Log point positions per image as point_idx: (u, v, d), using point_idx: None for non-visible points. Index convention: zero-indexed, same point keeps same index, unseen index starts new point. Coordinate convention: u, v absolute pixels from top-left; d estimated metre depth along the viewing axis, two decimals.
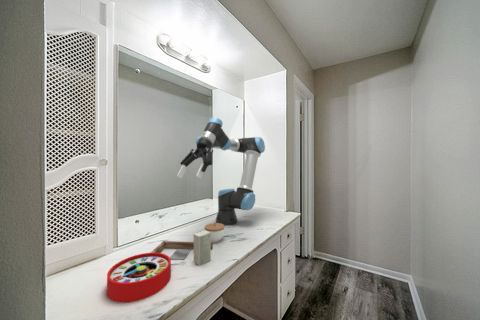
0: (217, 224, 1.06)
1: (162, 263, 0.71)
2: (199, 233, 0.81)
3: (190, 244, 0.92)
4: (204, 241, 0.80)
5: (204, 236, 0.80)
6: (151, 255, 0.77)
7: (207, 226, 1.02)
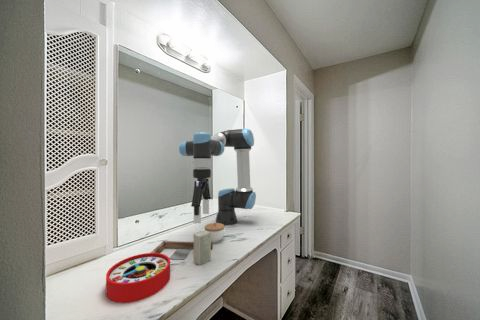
0: (217, 223, 1.06)
1: (161, 263, 0.71)
2: (199, 233, 0.81)
3: (190, 244, 0.92)
4: (204, 241, 0.80)
5: (204, 236, 0.80)
6: (150, 255, 0.77)
7: (207, 226, 1.02)
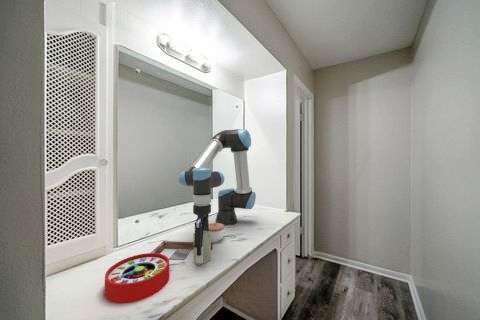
0: (217, 223, 1.06)
1: (160, 264, 0.71)
2: None
3: (190, 244, 0.92)
4: (204, 241, 0.80)
5: (204, 236, 0.80)
6: (150, 255, 0.76)
7: None
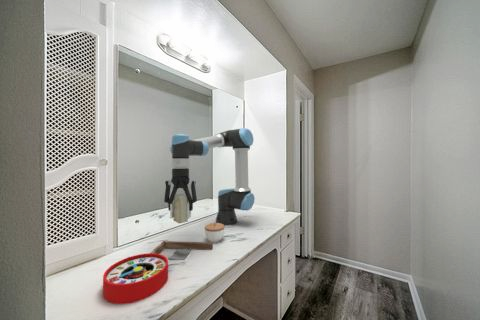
0: (217, 224, 1.06)
1: (159, 264, 0.70)
2: (180, 195, 0.86)
3: (190, 244, 0.92)
4: None
5: None
6: (149, 256, 0.76)
7: (207, 226, 1.02)
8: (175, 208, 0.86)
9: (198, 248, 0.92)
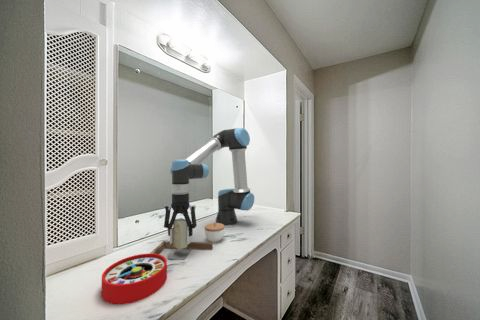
0: (217, 223, 1.06)
1: (158, 264, 0.70)
2: (180, 220, 0.86)
3: (190, 244, 0.92)
4: None
5: None
6: (148, 256, 0.76)
7: (207, 226, 1.02)
8: (175, 234, 0.86)
9: (198, 248, 0.92)
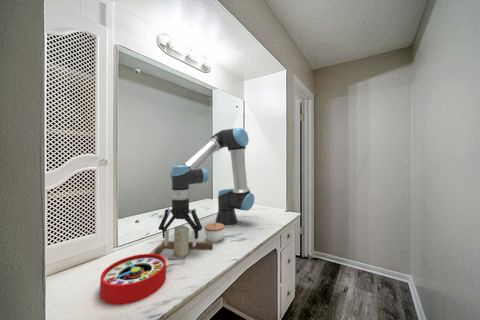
0: (217, 223, 1.06)
1: (157, 265, 0.70)
2: (181, 228, 0.86)
3: (190, 244, 0.92)
4: None
5: None
6: (147, 256, 0.76)
7: (207, 226, 1.02)
8: (176, 241, 0.86)
9: (198, 248, 0.92)
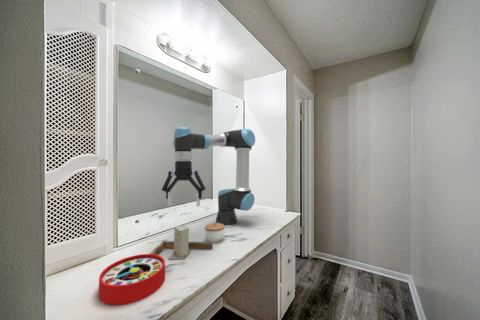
0: (217, 223, 1.06)
1: (156, 265, 0.70)
2: (181, 228, 0.86)
3: (190, 244, 0.92)
4: None
5: None
6: (146, 256, 0.76)
7: (207, 226, 1.02)
8: (176, 241, 0.86)
9: (198, 248, 0.92)
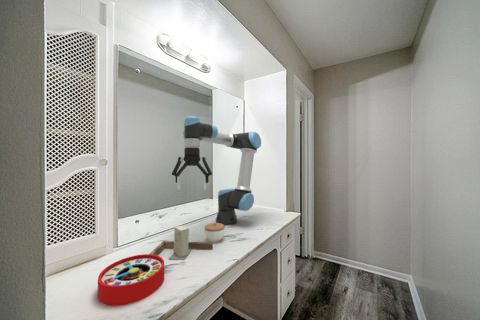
0: (217, 223, 1.06)
1: (155, 265, 0.69)
2: (181, 228, 0.86)
3: (190, 244, 0.92)
4: None
5: None
6: (146, 257, 0.75)
7: (207, 226, 1.02)
8: (176, 241, 0.86)
9: (198, 248, 0.92)
